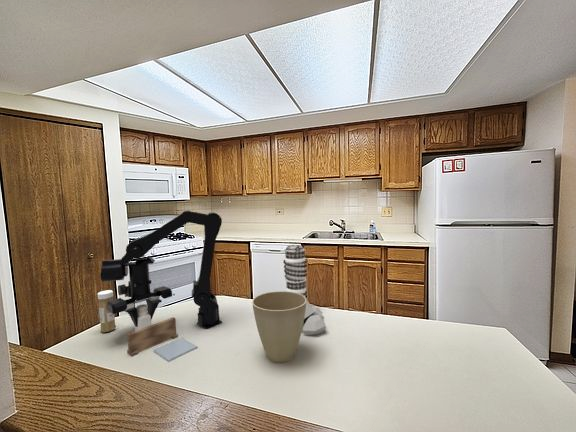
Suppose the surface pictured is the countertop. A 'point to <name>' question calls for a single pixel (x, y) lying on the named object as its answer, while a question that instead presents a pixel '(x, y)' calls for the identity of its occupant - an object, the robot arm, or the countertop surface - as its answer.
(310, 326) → the rock
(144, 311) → the pepper shaker
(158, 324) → the walnut screen
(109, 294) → the spice jar
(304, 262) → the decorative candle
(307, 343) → the countertop surface
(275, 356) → the plant pot
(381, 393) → the countertop surface
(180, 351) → the slate coaster
